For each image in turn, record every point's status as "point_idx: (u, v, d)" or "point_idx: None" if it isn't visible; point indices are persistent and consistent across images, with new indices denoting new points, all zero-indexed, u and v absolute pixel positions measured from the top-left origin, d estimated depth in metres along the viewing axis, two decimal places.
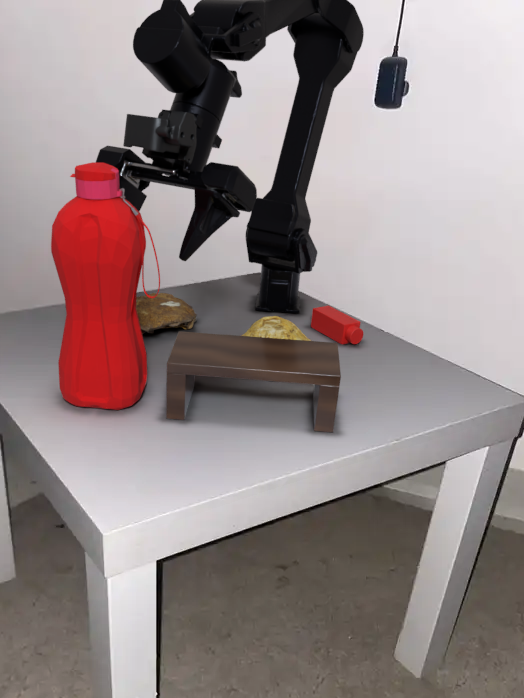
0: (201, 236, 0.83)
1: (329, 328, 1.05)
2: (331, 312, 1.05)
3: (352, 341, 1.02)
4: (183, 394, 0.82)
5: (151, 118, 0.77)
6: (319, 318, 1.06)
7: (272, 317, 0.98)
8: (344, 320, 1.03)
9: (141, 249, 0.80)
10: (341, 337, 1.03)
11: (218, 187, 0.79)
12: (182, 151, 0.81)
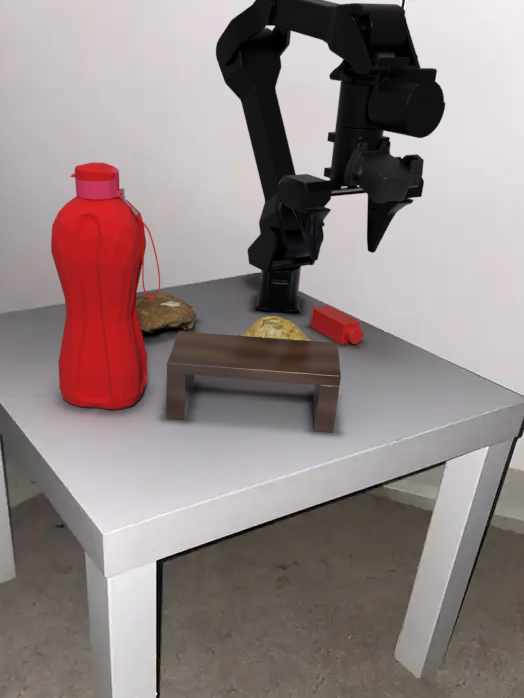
0: None
1: (329, 328, 1.05)
2: (331, 312, 1.05)
3: (352, 341, 1.02)
4: (183, 394, 0.82)
5: (409, 178, 0.89)
6: (319, 318, 1.06)
7: (272, 317, 0.98)
8: (344, 320, 1.03)
9: (141, 249, 0.80)
10: (341, 337, 1.03)
11: (415, 196, 0.97)
12: None
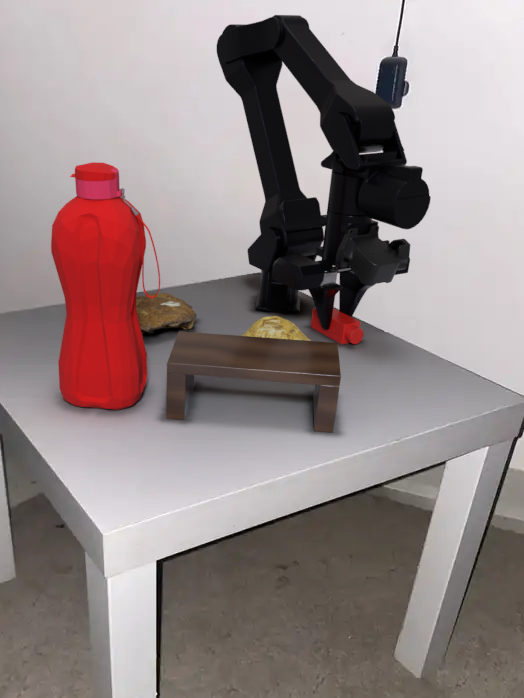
0: None
1: (329, 328, 1.05)
2: None
3: (352, 341, 1.02)
4: (183, 394, 0.82)
5: (397, 263, 0.94)
6: None
7: (272, 317, 0.98)
8: (344, 320, 1.03)
9: (141, 249, 0.80)
10: (341, 337, 1.03)
11: None
12: None
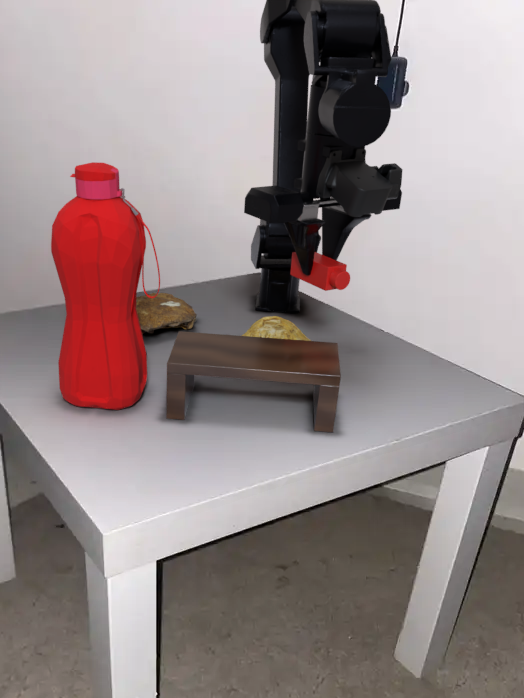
0: None
1: (311, 273, 0.91)
2: None
3: (337, 286, 0.89)
4: (183, 394, 0.82)
5: (388, 189, 0.81)
6: None
7: (272, 317, 0.98)
8: (328, 263, 0.90)
9: (141, 249, 0.80)
10: (325, 282, 0.90)
11: (392, 209, 0.90)
12: None
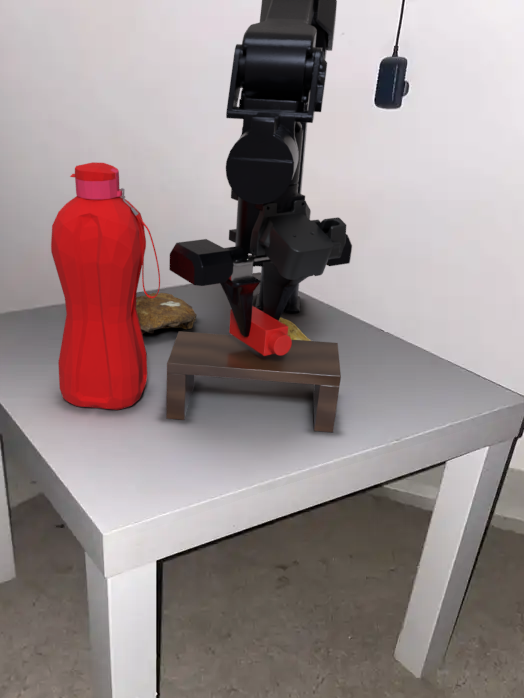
0: None
1: (249, 335, 0.81)
2: (253, 314, 0.82)
3: (277, 352, 0.79)
4: (183, 394, 0.82)
5: (327, 249, 0.71)
6: None
7: None
8: (267, 324, 0.80)
9: (141, 249, 0.80)
10: (263, 346, 0.79)
11: (341, 263, 0.80)
12: None
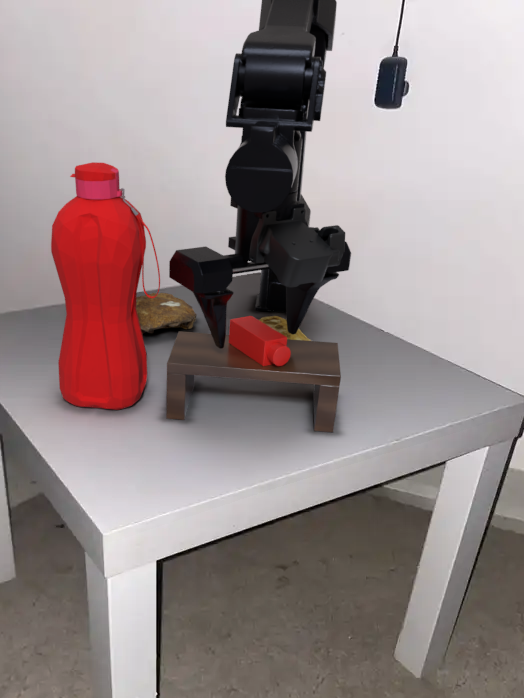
0: None
1: (249, 345, 0.82)
2: (252, 325, 0.83)
3: (276, 362, 0.79)
4: (183, 394, 0.82)
5: (327, 257, 0.71)
6: (237, 332, 0.83)
7: (272, 317, 0.98)
8: (266, 335, 0.80)
9: (141, 249, 0.80)
10: (262, 357, 0.80)
11: None
12: None
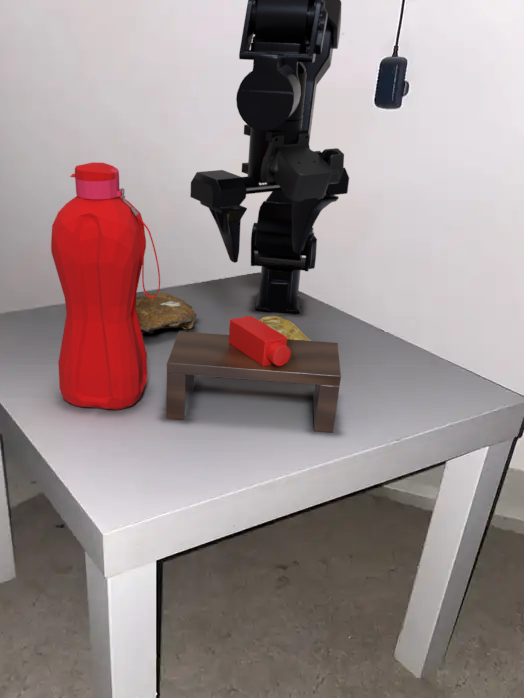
0: None
1: (249, 345, 0.82)
2: (252, 325, 0.83)
3: (276, 362, 0.79)
4: (183, 394, 0.82)
5: (328, 174, 0.82)
6: (237, 332, 0.83)
7: (272, 317, 0.98)
8: (266, 335, 0.80)
9: (141, 249, 0.80)
10: (262, 357, 0.80)
11: (340, 193, 0.91)
12: None
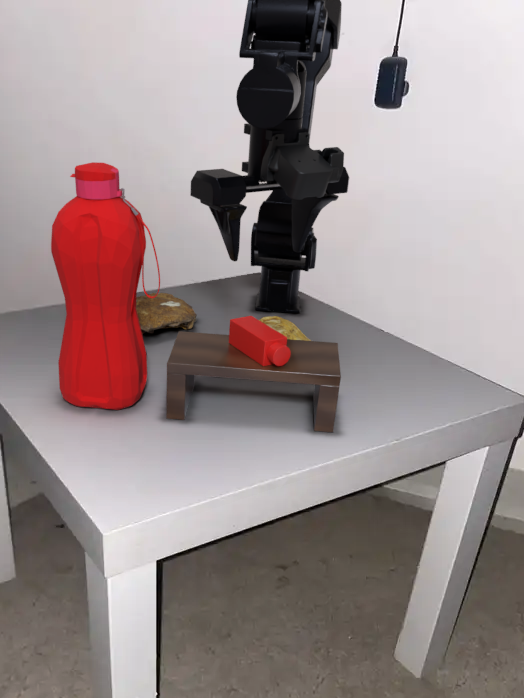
0: None
1: (249, 345, 0.82)
2: (252, 325, 0.83)
3: (276, 362, 0.79)
4: (183, 394, 0.82)
5: (328, 173, 0.82)
6: (237, 332, 0.83)
7: (272, 317, 0.98)
8: (266, 335, 0.80)
9: (141, 249, 0.80)
10: (262, 357, 0.80)
11: (340, 192, 0.91)
12: None
